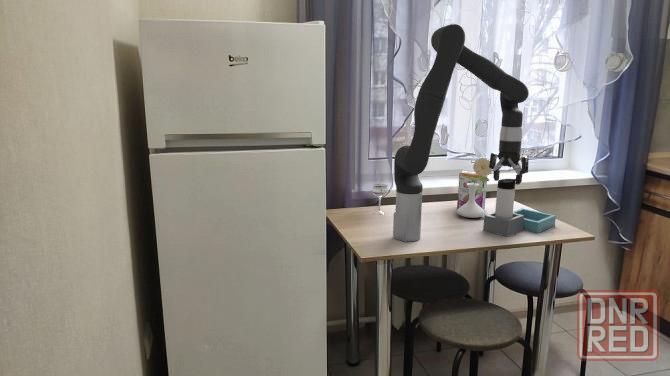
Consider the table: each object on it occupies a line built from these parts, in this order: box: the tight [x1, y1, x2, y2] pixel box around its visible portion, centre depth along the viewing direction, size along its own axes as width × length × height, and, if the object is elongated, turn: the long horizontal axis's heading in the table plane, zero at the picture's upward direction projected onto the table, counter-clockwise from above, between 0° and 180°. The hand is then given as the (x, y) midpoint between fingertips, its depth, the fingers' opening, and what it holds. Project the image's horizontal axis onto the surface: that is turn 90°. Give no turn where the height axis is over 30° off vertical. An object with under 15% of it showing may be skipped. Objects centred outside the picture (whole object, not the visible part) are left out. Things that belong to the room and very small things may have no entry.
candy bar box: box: [456, 170, 488, 211], centre depth 204 cm, size 11×5×16 cm, turn 58°
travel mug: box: [494, 178, 516, 220], centre depth 175 cm, size 6×7×20 cm
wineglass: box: [371, 183, 389, 215], centre depth 199 cm, size 7×7×12 cm
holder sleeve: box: [482, 211, 524, 237], centre depth 177 cm, size 11×10×6 cm
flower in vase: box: [456, 157, 493, 219], centre depth 192 cm, size 13×11×25 cm
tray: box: [513, 208, 557, 234], centre depth 184 cm, size 14×14×4 cm
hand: (507, 182), depth 173 cm, fingers open, 8 cm apart
